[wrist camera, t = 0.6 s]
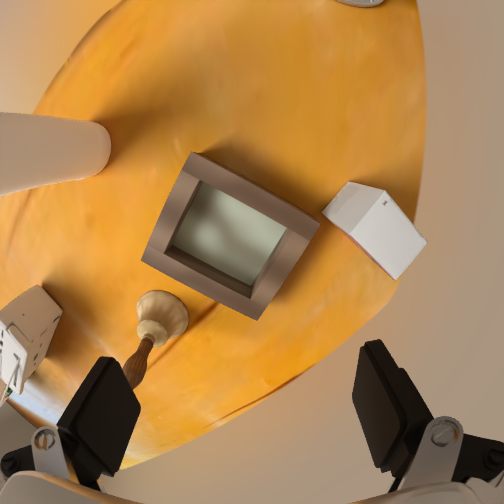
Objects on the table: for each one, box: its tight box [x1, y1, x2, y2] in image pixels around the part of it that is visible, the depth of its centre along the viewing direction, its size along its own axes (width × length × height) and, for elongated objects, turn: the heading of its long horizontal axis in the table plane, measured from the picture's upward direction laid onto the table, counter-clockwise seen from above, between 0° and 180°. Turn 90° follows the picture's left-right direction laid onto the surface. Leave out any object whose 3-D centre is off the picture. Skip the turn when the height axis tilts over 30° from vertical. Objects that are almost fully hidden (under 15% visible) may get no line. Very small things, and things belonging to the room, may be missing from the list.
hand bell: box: [122, 290, 189, 390], centre depth 31 cm, size 8×8×16 cm
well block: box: [141, 152, 321, 320], centre depth 32 cm, size 14×16×4 cm
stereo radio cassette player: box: [0, 285, 63, 407], centre depth 31 cm, size 21×8×20 cm, turn 138°
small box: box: [322, 181, 427, 280], centre depth 29 cm, size 8×6×10 cm
